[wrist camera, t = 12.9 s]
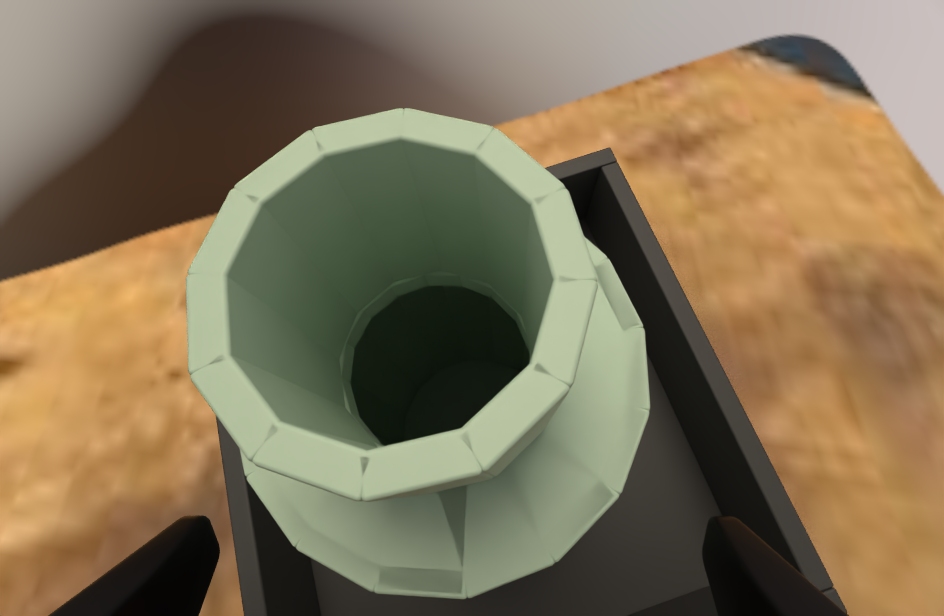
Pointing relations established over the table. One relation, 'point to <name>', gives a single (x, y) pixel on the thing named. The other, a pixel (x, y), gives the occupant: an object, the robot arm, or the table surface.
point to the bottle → (418, 354)
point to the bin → (645, 491)
